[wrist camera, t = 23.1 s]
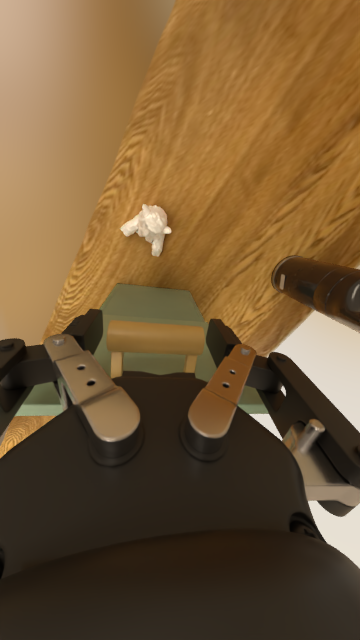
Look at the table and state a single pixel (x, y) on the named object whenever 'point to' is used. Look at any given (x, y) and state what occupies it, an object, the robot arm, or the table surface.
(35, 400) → the lid
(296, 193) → the table surface
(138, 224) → the sitting furry creature
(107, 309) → the chest
